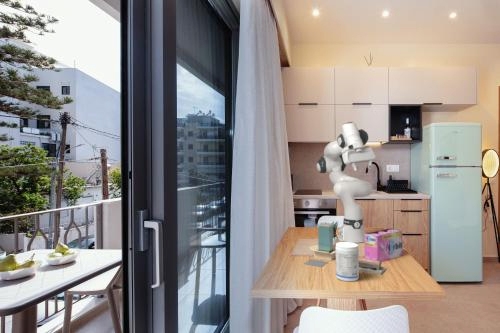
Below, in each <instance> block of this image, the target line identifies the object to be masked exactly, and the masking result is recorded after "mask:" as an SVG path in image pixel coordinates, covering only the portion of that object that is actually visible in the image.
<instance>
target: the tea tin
mask: <svg viewBox="0 0 500 333" xmlns="http://www.w3.org/2000/svg"><path fill="white" fill-rule="evenodd" d="M317 228H318V229H317V231H318V232H317V233H318V236H317V238H318V240H317V241H318V244H317V245H318V247H319V250H318V251H324V252H329V253H332V252H333V245H334V240H333V239H334V235H333V234H334V230H333V229H334V224H333V223H329V222H328V223H327V222H320V223H318V226H317Z"/></svg>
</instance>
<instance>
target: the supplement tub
mask: <svg viewBox="0 0 500 333" xmlns="http://www.w3.org/2000/svg"><path fill="white" fill-rule="evenodd" d="M335 246H336V258H335V277H336V278H337V280H340V281H342V282H343V281H344V282H357V281H358V280H359V277H360V275H359V274H360V271H359V258H360V257H359V255H360V254H359V252H360V251H359V244H358V243H353V242H345V241H340V242H339V241H338V242H336V243H335Z"/></svg>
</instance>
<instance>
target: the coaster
mask: <svg viewBox="0 0 500 333" xmlns="http://www.w3.org/2000/svg"><path fill="white" fill-rule="evenodd" d="M327 264H329V262H328V261H326V260H325V261H324V260H319V259H312V258H311V259H309V260H307V261H306V262H304V263H303V265H305V266H312V267H319V268H322V267H324V266H325V265H327Z"/></svg>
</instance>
